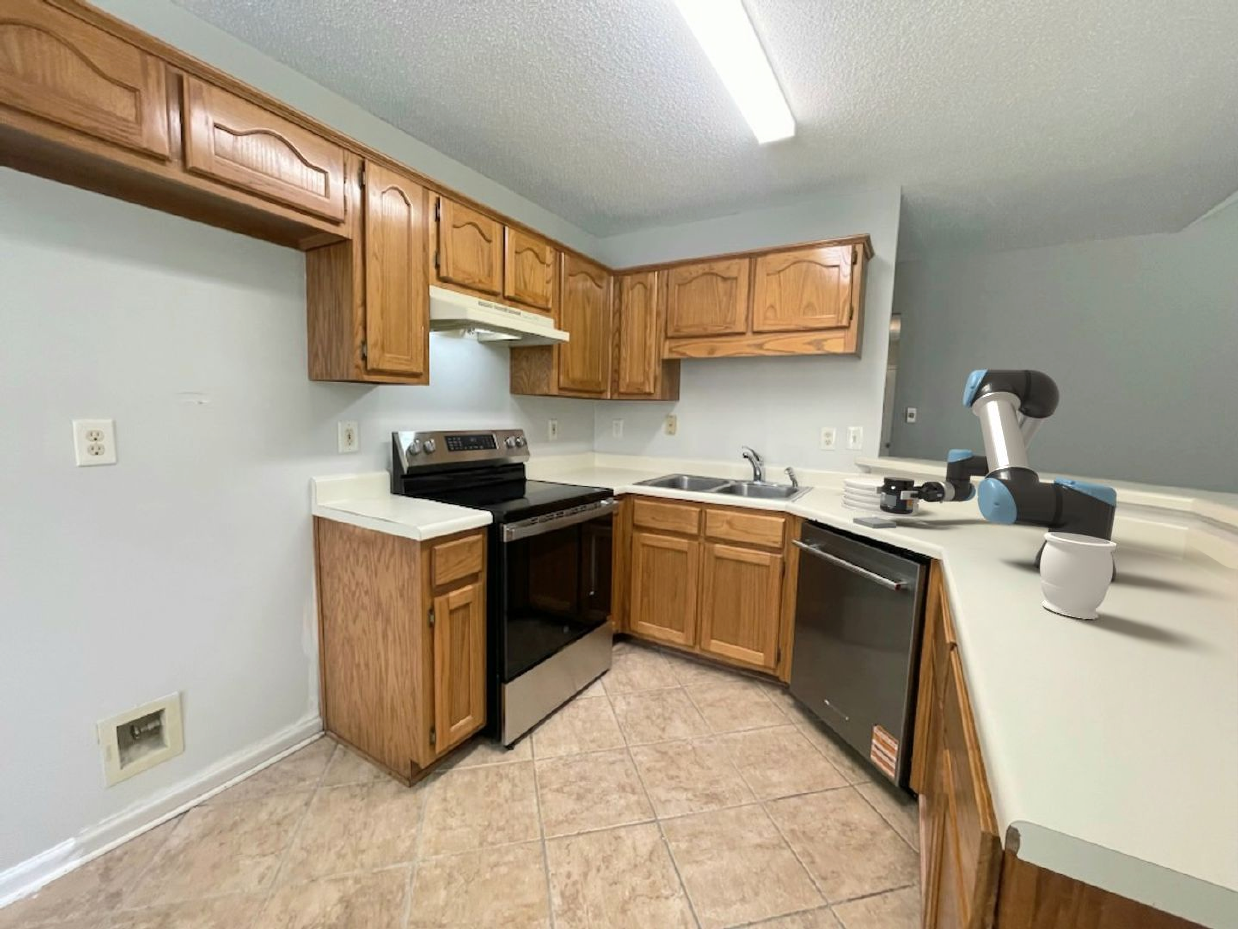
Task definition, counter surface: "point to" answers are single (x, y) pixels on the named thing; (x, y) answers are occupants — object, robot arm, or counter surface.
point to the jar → (1075, 573)
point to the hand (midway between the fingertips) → (888, 492)
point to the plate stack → (867, 497)
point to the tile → (874, 522)
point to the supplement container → (896, 495)
